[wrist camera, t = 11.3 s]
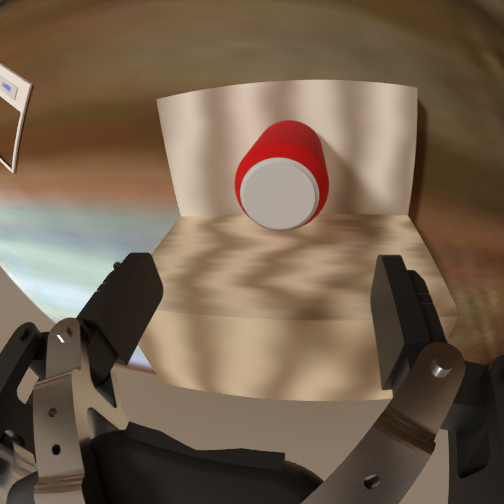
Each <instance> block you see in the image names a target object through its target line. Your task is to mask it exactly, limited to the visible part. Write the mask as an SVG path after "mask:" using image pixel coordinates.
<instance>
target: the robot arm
mask: <svg viewBox="0 0 504 504" xmlns="http://www.w3.org/2000/svg"><path fill="white" fill-rule="evenodd" d="M163 291H164V290H163V284H162V281H161V278H160V276H159V273H158V270H157V268H156V265H155V262H154V260H153V257H152V255H151V254H150V253H130V254H129V255H128V256H127V257H126V258H125V259H124V261H123V262H122V263H121V264H120V266H118V267H117V268H116V269H115V270H113V271H112V272H111V273H110V274H109V275H108V276H107V277H106V279H105V280H104V281H103V284H101V285H100V286H99V288H98V289H97V292H95V293H94V294H93V296H92V297H91V298H90V300H89V301H88V302H87V304H86V305H85V306H84V308H83V309H82V311H81V312H80V313H79V315H78V316H77V317H76V319H75V318H66V319H63V320H61V321H59V322H58V323H57V324H56V325H55V326H54V327H53V328H52V329H51V331H50V332H42V333H40V331H39V330H38V329H37V327H36V326H35V324H33V323H31V322H27V323H24V324H23V325H21V326H20V327H18V328H17V330H16V331H15V332H14V333H13V335H12V336H11V338H10V339H9V341H8V343H7V344H6V346H5V347H4V349H3V350H2V352H1V353H0V498H1V499H2V500H3V501H4V502H6V504H399V502H400V501H401V500H402V498H403V497H404V496H405V494H406V493H407V492H408V490H409V489H410V487H411V486H412V485H413V483H414V482H415V480H416V479H417V477H418V476H419V474H420V473H421V471H422V470H423V468H424V467H425V465H426V463H427V462H428V460H429V459H430V457H431V455H432V453H433V451H434V448H435V444H436V443H435V442H434V439H435V437H436V435H437V433H438V431H439V429H444V430H448V439H449V496H448V504H504V355H501V356H499V357H497V358H496V359H495V360H494V361H493V363H492V364H491V365H490V366H488V365H482V364H477V363H472V362H468V361H465V360H464V357H463V355H462V354H461V352H460V351H459V350H458V349H457V348H456V347H454V346H453V345H451V344H448V343H447V340H446V337H445V334H444V331H443V328H442V325H441V322H440V319H439V317H438V314H437V311H436V308H435V306H434V305H433V300H432V298H431V295H429V290H428V288H427V285H426V283H425V280H424V279H423V278H422V277H421V276H420V275H419V274H418V273H417V272H416V271H415V270H407V269H406V266H405V264H404V261H403V259H402V256H401V255H378V257H377V261H376V267H375V272H374V278H373V283H372V288H371V295H370V305H371V312H372V318H373V325H374V331H375V338H376V345H377V352H378V360H379V369H380V379H381V389H382V390H392V393H393V398H392V400H391V401H390V403H389V404H388V406H387V407H386V409H385V410H384V412H383V413H382V414H381V415H380V416H379V418H378V419H377V420H376V422H375V423H374V424H373V426H372V427H371V429H370V430H369V431H368V432H367V434H366V435H365V436H364V437H363V439H362V440H361V441H360V442H359V443H358V445H357V446H356V447H355V448H354V449H353V451H352V452H351V453H350V454H349V455H348V456H347V457H346V459H345V460H344V461H343V462H342V463H341V464H340V465H339V467H337V469H336V470H335V471H334V472H333V473H332V474H331V475H330V476H329V477H328V478H327V479H326V480H325V481H323V480H322V479H321V478H320V477H318V476H317V475H316V474H314V473H313V472H312V471H309V470H308V469H306V468H305V467H302V466H300V465H297V464H296V463H293V462H290V461H286V460H285V453H280V452H268V451H259V450H250V449H242V448H240V449H225V450H195V449H192V448H190V447H188V446H186V445H184V444H183V443H181V442H179V441H177V440H175V439H173V438H171V437H170V436H168V435H166V434H165V433H163V432H161V431H158V430H154V429H151V428H148V427H144V426H141V425H138V424H135V423H132V422H129V421H128V419H127V418H126V416H125V414H124V410H123V406H122V402H121V398H120V393H119V388H118V384H117V378H116V374H115V371H114V369H113V368H112V367H113V365H114V363H118V364H122V365H126V366H127V364H128V362H129V360H130V358H131V356H132V354H133V353H134V351H135V349H136V347H137V345H138V343H139V341H140V339H141V337H142V335H143V333H144V332H145V330H146V328H147V326H148V324H149V322H150V320H151V319H152V317H153V315H154V313H155V311H156V309H157V308H158V306H159V304H160V302H161V300H162V298H163ZM28 367H30V368H31V369H32V370H33V371H34V372H35V374H36V375H37V376H38V377H39V379H38V381H37V382H36V383H35V385H34V389H33V391H32V393H31V395H30V396H29V399H28V401H27V403H26V404H24V403H23V402H21V401H20V400H19V399H18V396H17V388H18V386H19V384H20V382H21V380H22V378H23V376H24V374H25V373H26V371H27V369H28ZM6 430H7V432H5V431H6ZM36 463H37V464H36Z"/></svg>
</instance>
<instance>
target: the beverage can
mask: <svg viewBox="0 0 504 504" xmlns="http://www.w3.org/2000/svg"><path fill="white" fill-rule="evenodd" d="M328 193H329V178H328V173H327V168H326V163H325V158H324V153H323V148H322V144H321V141H320V139H319V137H318V135H317V134H316V133H315V131H314V130H313V129H312V128H310V127H309V126H308V125H306V124H304V123H302V122H299V121H294V120H284V121H280V122H277V123H274V124H273V125H271V126H269V127H268V128H267V129H266V130H265V131H264V132H263V133H262V135H261V136H260V137H259V138H258V140H257V141H256V142H255V143H254V145H253V146H252V147H251V148H250V150H249V151H248V152H247V154H246V155H245V156H244V157H243V159H242V160H241V162H240V164H239V166H238V168H237V171H236V175H235V194H236V197H237V200H238V203H239V205H240V207H241V208H242V210H243V211H244V212H245V214H246V215H247V216H248V217H249V218H250V219H252V220H253V221H254V222H255V223H257V224H258V225H260V226H262V227H264V228H267V229H270V230H276V231H286V230H292V229H296V228H299V227H302V226H304V225H306V224H308V223H309V222H311V221H312V220H313V219H314V218H315V217H316V216H317V215H318V214H319V213H320V212H321V210H322V209H323V207H324V205H325V203H326V200H327V197H328Z"/></svg>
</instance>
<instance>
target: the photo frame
mask: <svg viewBox="0 0 504 504" xmlns="http://www.w3.org/2000/svg"><path fill="white" fill-rule="evenodd" d="M32 85H33V84H32V83H30V82H29V81H27V80H26V79H24V78H23V77H21V76H19V75H18V74H16V73H15V72H13V71H12V70H10V69H9V68H7V67H6V66H4V65H2V64H1V63H0V96H1V97H2V98H3V99H5V100H6V101H7V102H8V103H10V104H11V105H12V106H14V107H15V108H16V109H17V110H19V111H20V112H21V115H20V120H19V125H18V130H17V135H16V141H15V148H14V155H13V163H12V169H11V168H10V167H9V166H8V165H7V164H6V163H5V162H4V161H3V160H2V159H1V158H0V161H1V162H2V163H3V164H4V165H5V166H6V167H7V168H8V169H9V170H10V171H11V172H12V173H15V168H16V160H17V153H18V146H19V140H20V135H21V130H22V125H23V120H24V115H25V111H26V107H27V103H28V99H29V96H30V92H31V88H32Z"/></svg>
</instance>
